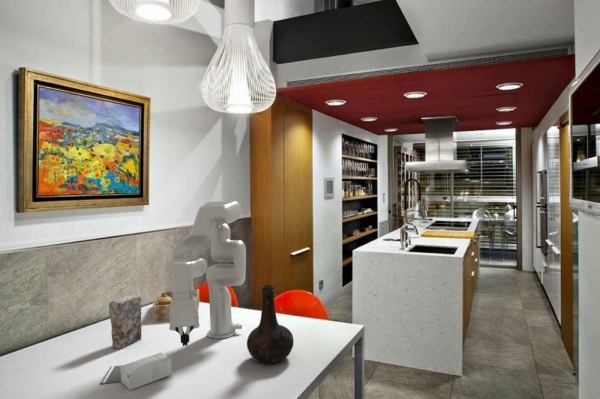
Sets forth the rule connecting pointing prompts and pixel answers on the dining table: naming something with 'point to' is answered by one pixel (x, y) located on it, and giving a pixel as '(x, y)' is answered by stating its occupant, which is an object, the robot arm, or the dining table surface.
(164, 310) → the crate
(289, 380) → the dining table surface
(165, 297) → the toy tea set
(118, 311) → the stone block
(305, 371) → the dining table surface
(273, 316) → the glass bottle
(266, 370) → the dining table surface
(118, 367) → the mat
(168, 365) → the skincare box
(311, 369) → the dining table surface
